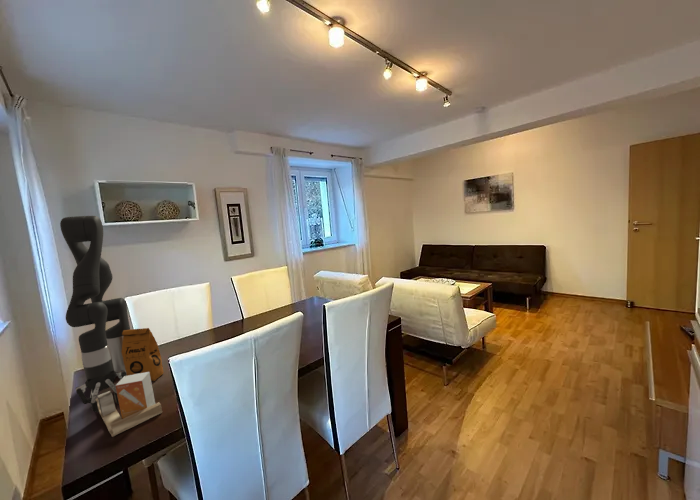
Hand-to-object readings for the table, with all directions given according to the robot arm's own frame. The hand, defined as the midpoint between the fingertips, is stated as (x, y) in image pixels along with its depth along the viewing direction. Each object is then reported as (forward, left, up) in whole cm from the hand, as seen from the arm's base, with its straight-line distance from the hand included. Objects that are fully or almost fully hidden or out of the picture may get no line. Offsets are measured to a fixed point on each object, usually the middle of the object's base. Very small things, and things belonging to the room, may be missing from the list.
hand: (107, 406), depth 107 cm
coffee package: (-17, +16, -3) cm, 24 cm away
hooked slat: (+1, +5, -3) cm, 6 cm away
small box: (+9, +7, -3) cm, 12 cm away
